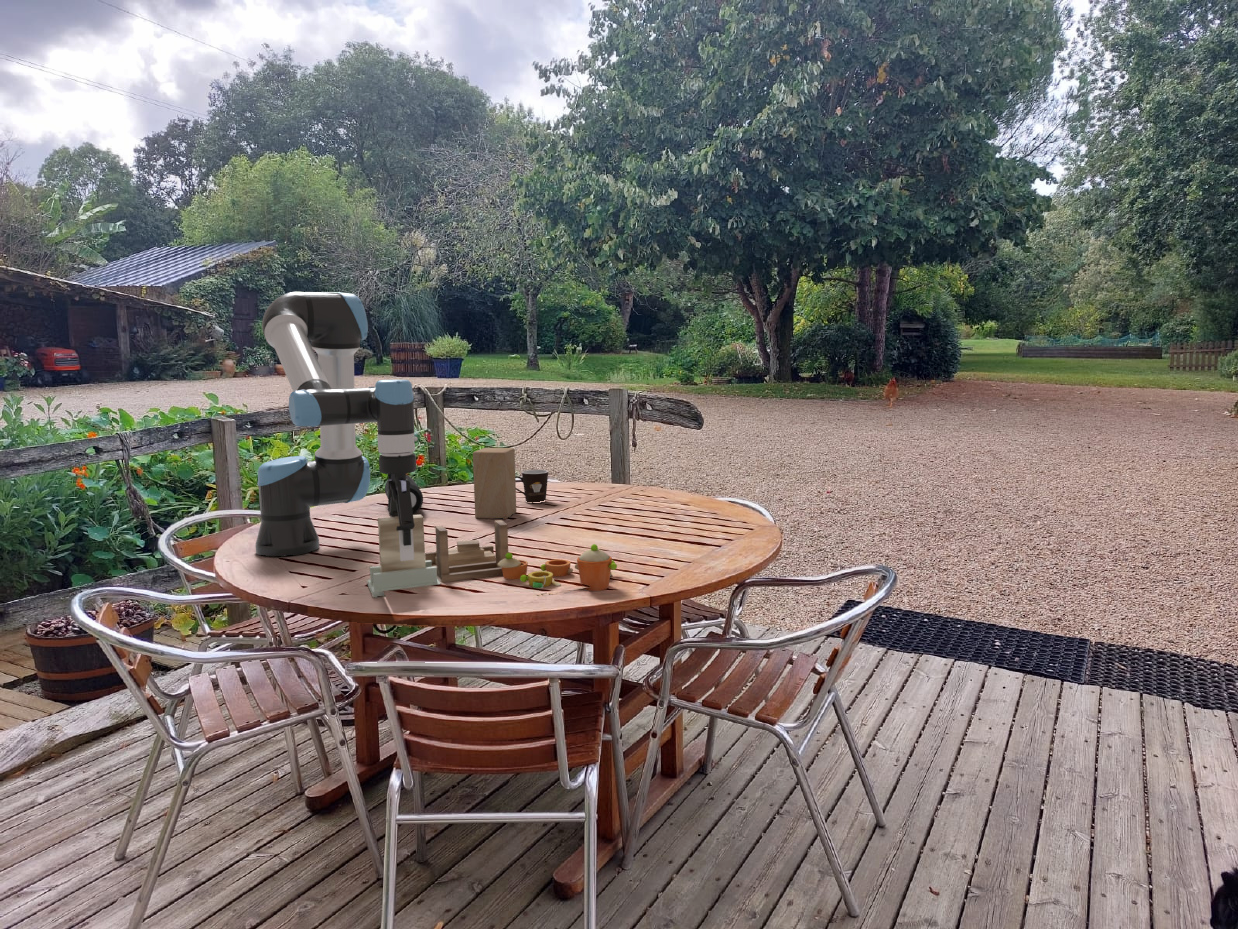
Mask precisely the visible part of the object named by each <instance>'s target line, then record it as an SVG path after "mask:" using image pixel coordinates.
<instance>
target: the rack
mask: <svg viewBox="0 0 1238 929" xmlns="http://www.w3.org/2000/svg"><path fill="white" fill-rule="evenodd" d="M508 528H509V527H508V524H507V523H506V522H505V521H504V520H503V519H495V520H494V544H495V545H486V546H480V541H479V540H480V539H469V540H457V541H456V547H453V548H449V537H448V536H449V535H448V534H449V533H448V529H447V528H446V527H444V525H436V526H435V546H436V547H435V549H436V550H435V551H430V552H425V561H427V560H431V561H432V567H433V566H436V568H437V579H438V580H439V582H440V583H447V582H454V581H463V580H471V579H472V580H473V579H480V578H489V577H496V576H503V572H502V567H499V566H498V563H499V562H500V561H501V560H503V559H505V558H506V554H507V553H509V535H508V534H509V532H508V531H509V530H508ZM494 547H495V548H494ZM494 549H495V551H494ZM494 553H495V554H494Z"/></svg>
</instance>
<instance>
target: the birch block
mask: <svg viewBox="0 0 1238 929" xmlns="http://www.w3.org/2000/svg"><path fill="white" fill-rule="evenodd" d="M413 519H414V524H415V526H414V528H413V545H414V560H406V561H401V560H400V544H399V531H397V530H396V528H397V526H400V525H399V518H398V517H392V516H389V517H379V518H377V526H378V527H377V528H378V531H377V532H378V547H379V549H378V550H379V551H378V552H379V566H380V569H381V572H390V571H398V570H407V569H416V568H425V567H426V566H425V553H426V549H425V530H424V529H425V526H424V516H423V515H422V514H413ZM406 523H408V522H406Z"/></svg>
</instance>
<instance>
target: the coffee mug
mask: <svg viewBox="0 0 1238 929" xmlns="http://www.w3.org/2000/svg"><path fill="white" fill-rule="evenodd" d="M521 476H522V477H521ZM521 476H519V475H515V479H519V480H520V481H521V482H522V485H523V490H524V491H522V490H520V489H519V488H517V487H516V492H517V491H518V492H519V493H520V494H523V495H524V498H525V502H526V501H527V502H540V501H544V500H547V490H548V480H549V479H548V478H549V470H546V469H528V470H527V469H526V470H523V471H521Z"/></svg>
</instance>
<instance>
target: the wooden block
mask: <svg viewBox="0 0 1238 929" xmlns="http://www.w3.org/2000/svg"><path fill="white" fill-rule="evenodd" d="M515 454H516V453H515V448H514V447H483V448H480V449H478V450H475V451H473V452H472V464H473V466H472V467H473V469H472V470H473V471H472V472H473V492H474V493H473V494H474V495H473V496H474V498H473V499H474V517H475V519H485V518H503V519H502V520H507V519H509V518H510V517H512V516H513V515H515V514H516V513H517V490H516V488H517V487H516V484H517V483H516V482H517V481H516V478H515V476H516V456H515ZM512 514H513V515H512ZM511 515H512V516H511ZM508 517H509V518H508Z"/></svg>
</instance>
